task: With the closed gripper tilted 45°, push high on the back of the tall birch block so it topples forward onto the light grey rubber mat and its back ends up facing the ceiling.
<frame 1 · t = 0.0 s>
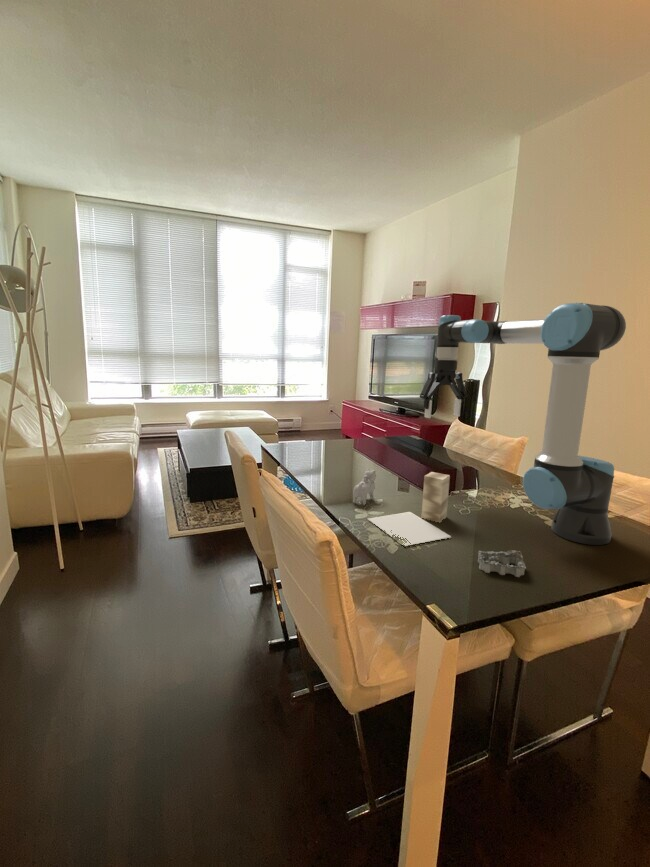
hand: (442, 417, 158), 28 cm above the table, tool pointing down, fingers open, 13 cm apart
mat: (407, 528, 126), on the table
dog figurine: (364, 500, 149), on the table
egg carton: (500, 569, 104), on the table
birch block: (433, 517, 135), on the table
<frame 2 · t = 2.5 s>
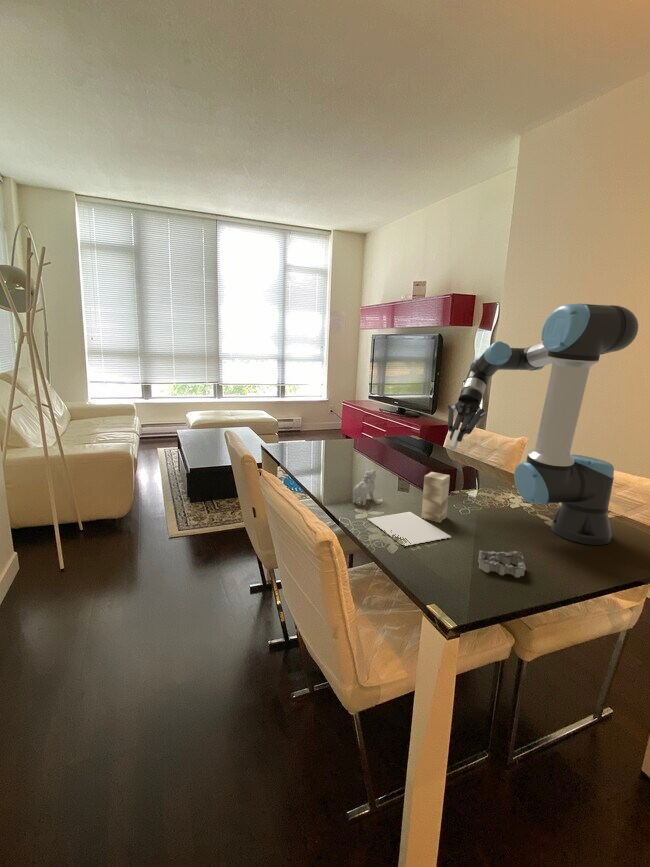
hand: (452, 448, 140), 21 cm above the table, tool tilted 45°, fingers closed
nothing on the table moved.
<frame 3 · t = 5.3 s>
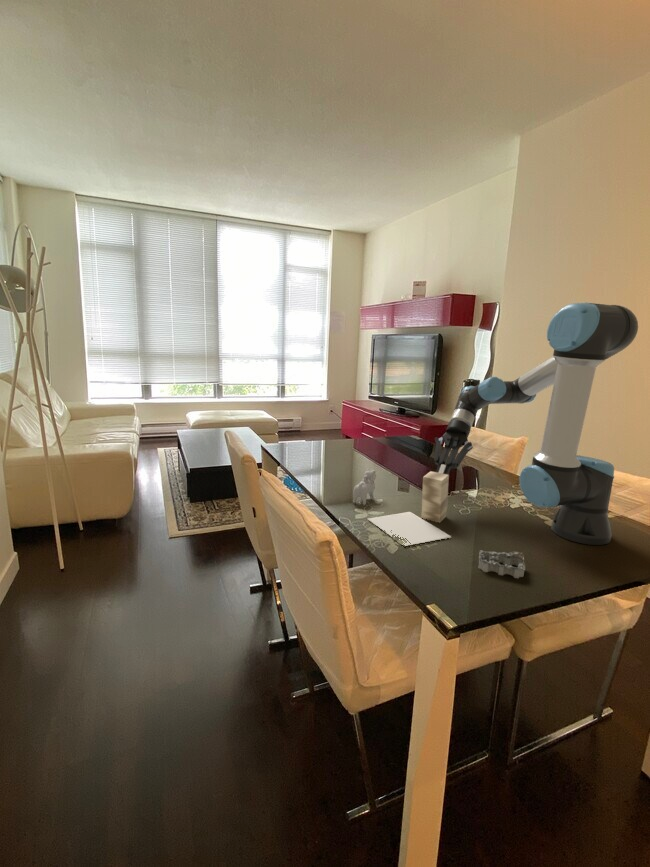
hand: (438, 483, 136), 10 cm above the table, tool tilted 45°, fingers closed
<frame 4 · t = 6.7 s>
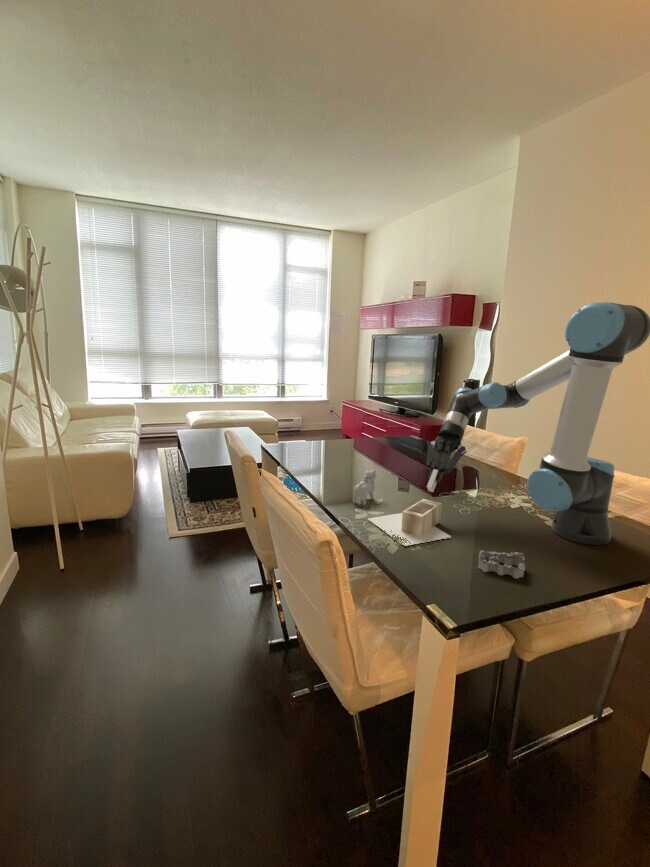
hand: (429, 489, 130), 10 cm above the table, tool tilted 45°, fingers closed
birch block: (431, 510, 132), point 3 cm above the table, tilted 90°, touching mat
everything else where it was.
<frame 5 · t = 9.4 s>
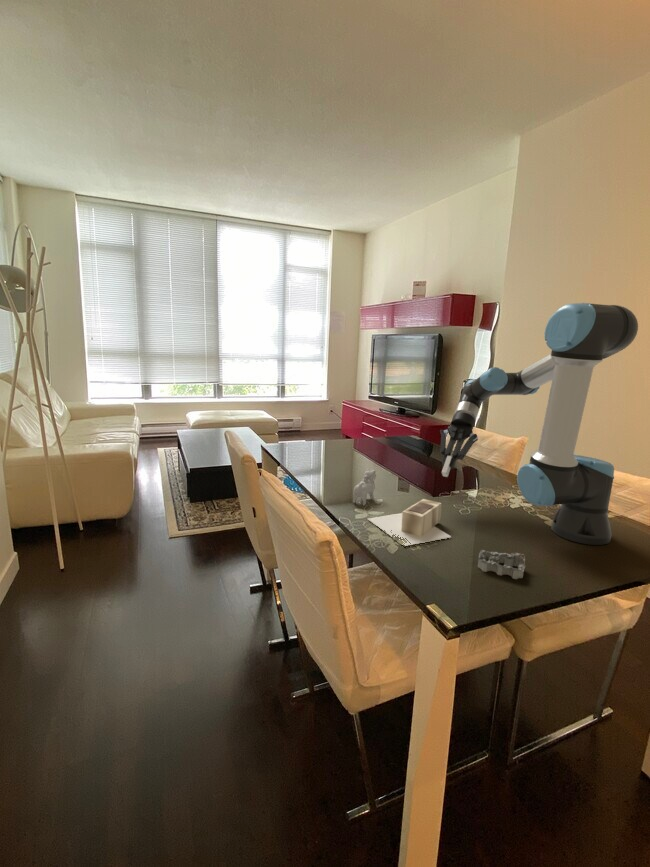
hand: (444, 474, 138), 13 cm above the table, tool tilted 45°, fingers closed
nothing on the table moved.
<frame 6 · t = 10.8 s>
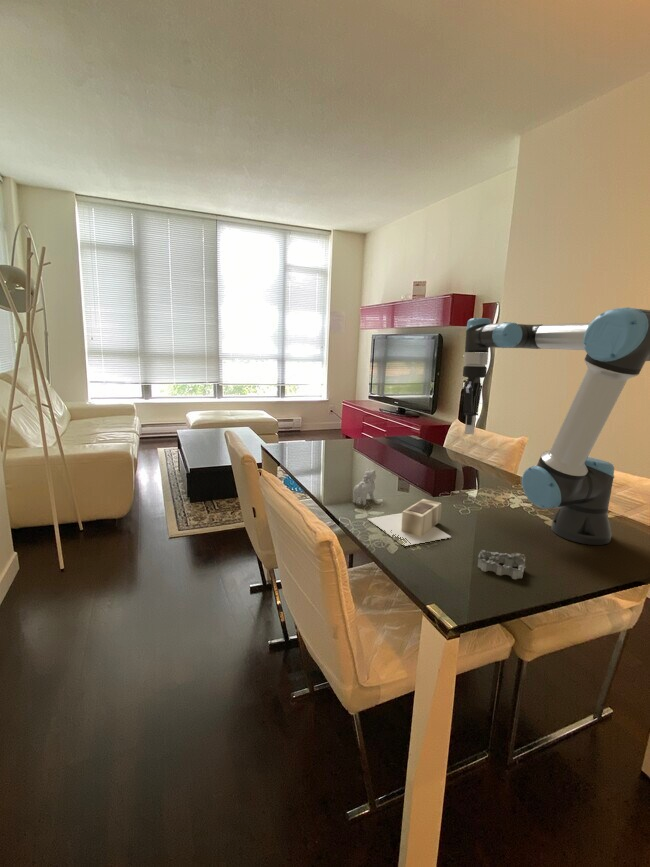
hand: (469, 433, 148), 24 cm above the table, tool pointing down, fingers closed
nothing on the table moved.
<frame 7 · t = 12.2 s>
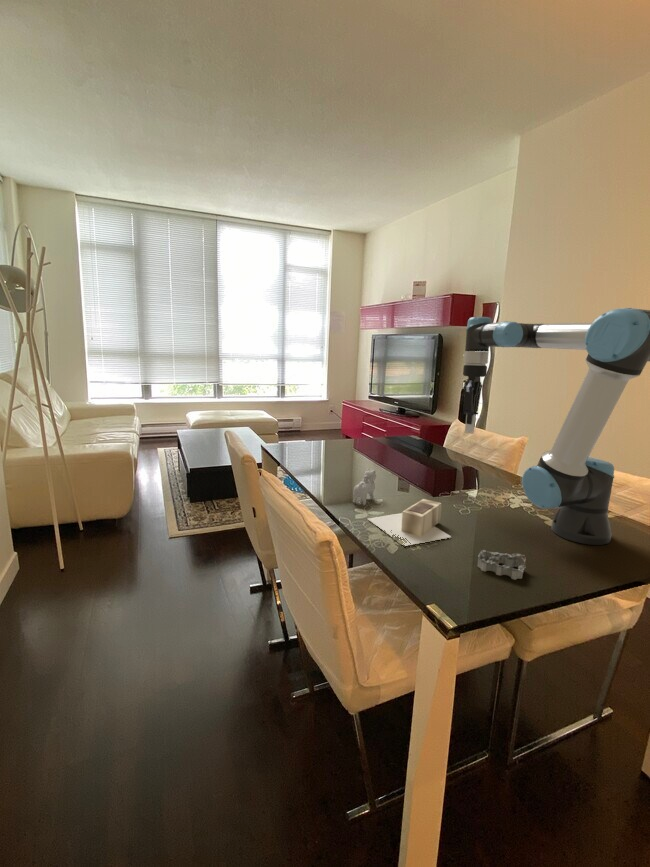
hand: (469, 432, 148), 24 cm above the table, tool pointing down, fingers closed
at the end: birch block tilted 90°; birch block inside the target area (0.8 cm from its centre), point 3.5 cm above the table; birch block touching mat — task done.
